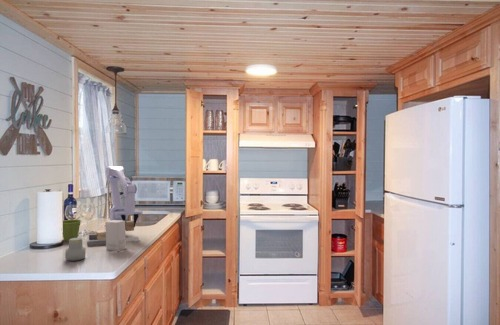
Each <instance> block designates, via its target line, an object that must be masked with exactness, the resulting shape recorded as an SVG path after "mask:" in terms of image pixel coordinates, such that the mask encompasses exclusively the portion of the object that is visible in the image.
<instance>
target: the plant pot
mask: <svg viewBox="0 0 500 325" xmlns="http://www.w3.org/2000/svg"><path fill="white" fill-rule="evenodd" d="M62 221H63V233H62V237H63V241H65V242H69V240H70V239H71V238H79V234H80V233H79V232H80V226H81V223H82V220H81V219H67V220H66V219H65V220H62Z"/></svg>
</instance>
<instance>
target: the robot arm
mask: <svg viewBox="0 0 500 325" xmlns="http://www.w3.org/2000/svg"><path fill="white" fill-rule="evenodd" d="M105 168H106V170H105V176H106V180H107V181H108V182H109V187H110V192H111V193H110V194H111V200H112V207H111V208H110V209H109V215H108V216H109V221H111V220H123V221H125V228H126V221H127V219H128V217H129V216H133V221H134V228H136V224H137V220H138V218H139V216H142V215H143V211H142V210H139V211H138V210H135V209H136V208H135V206H136V205H135V204H136V201H135V200H136V198H135V197H136V193H137V190H138V188H137V184H135V183H132V181H131V180H130V178H129V177H126V175H125V169H124V167H123V165H122V166H121V165H120V166H119V165H117V166H116V165H115V166H110V165H109V166H106V167H105ZM119 184H120V185H121V188H122V192H123V197H124V205H122V199H121V192H120V187H119Z"/></svg>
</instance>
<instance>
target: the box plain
mask: <svg viewBox="0 0 500 325" xmlns="http://www.w3.org/2000/svg"><path fill="white" fill-rule="evenodd" d="M95 232H96V233H95V234H96V240H106V230H98V231H95Z"/></svg>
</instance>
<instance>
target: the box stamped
mask: <svg viewBox="0 0 500 325" xmlns="http://www.w3.org/2000/svg"><path fill="white" fill-rule="evenodd" d="M130 231H132V232H133V231H135V227H134V220H126V228H125V232H130Z"/></svg>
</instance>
